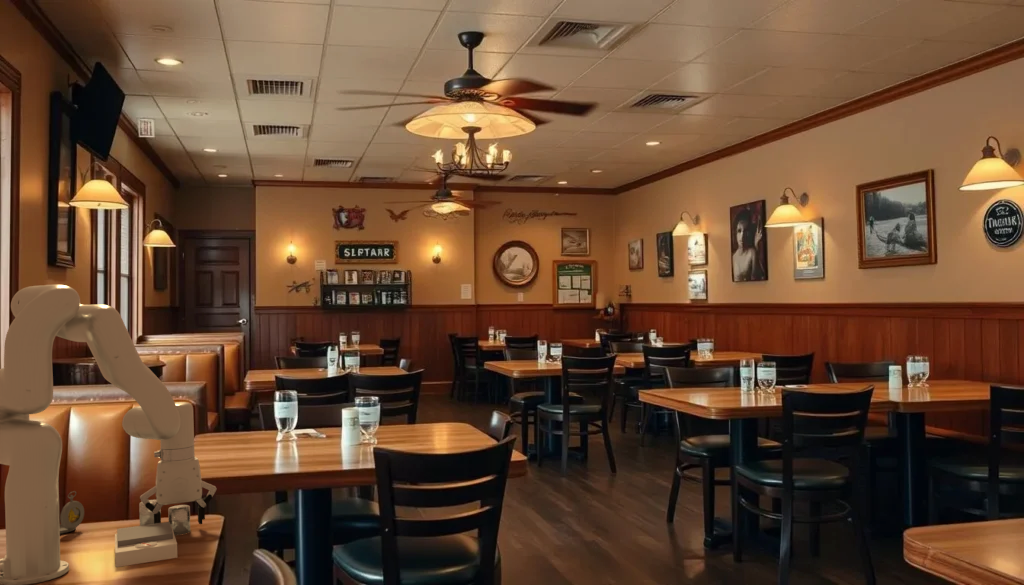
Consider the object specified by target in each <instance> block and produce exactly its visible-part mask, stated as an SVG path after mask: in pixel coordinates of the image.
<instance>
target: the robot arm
mask: <svg viewBox="0 0 1024 585" xmlns="http://www.w3.org/2000/svg"><path fill="white" fill-rule="evenodd" d="M10 311H11V313H12V315H13V317H14V319H13V321H11V323H10V325H9V327H8V328H7V331H6V335H5V339H4V345H3V346H4V350H3V351H4V352H3V353H4V354H3V355H4V356H3V367H2V368H0V465H4V466H8V467H9V468H8V473H7V476H6V480H5V484H4V510H5V511H4V512H5V548H6V550H5V552H6V553H5V555H4V557H2V558H1V557H0V584H1V585H32V584H38V583H43V582H47V581H50V580H54V579H56V578H59V577H61V576H63V575H66V573H67V572H68V571H69V570H70V563H69V562H67V561H65V560H61V534H60V525H61V523H60V494H59V493H60V492H59V491H60V490H59V474H60V465H61V459H62V453H63V439H62V436H61V434H60V432H59V431H58V430H57V429H56V427H54V426H53V425H52V424H50V423H47V422H44V421H40V420H32V419H30V415H36V414H39V413H42V412H45V411H46V410H47V409H48V408H49V407H50V405H51V403H52V401H53V398H54V376H53V375H54V374H53V372H54V371H53V346H54V341H55V338H56V337H59V338H62V339H65V340H68V341H72V342H75V343H76V342H77V343H86V344H87V346H88V348H89V350H90V352H91V354H92V356H93V358H94V360H95V361H96V364H97V366H98V368H99V370H100V373H101V375H102V377H103V378H104V379H105V380H106V381H107V382H109V383H110V384H111V385H113V386H114V387H116V388H118V389H119V390H121V391H123V392H125V393H126V394H128V395H129V396H130V397H131V398H133V399H134V400H135V402H137V404H138V406H134V407H132V408H131V409H129V410H128V411H127V412H125V414H124V416H123V418H122V423H121V426H122V428H123V431H125V433H126V434H128V435H129V436H131V437H133V438H136V439H137V438H138V439H144V440H154V441H155V440H156V441H159V442H160V449H159V450H157V451H154V452H153V456H154V458H159V459H160V460H159V461H158V462H157V466H156V474H155V475H156V476H155V485H154V486H153V487H151V488H150V489H148V490H147V491H145V492H143V494H141V495H140V496H139V500H140V501H141V502H143V504H144V505H145V506H146V508H148V509H149V510H150V511H152V512H153V513H154V524H156V523H162V512H161V513H160V511H159V510H160V509H162V507H163V506H167V505H174V504H183V503H190V502H191V503H192V502H197V503H198V506H197V522H198V524H199V525H203V520H204V521H205V519H206V509H205V508H206V507H207V505H208V503H209V502H210V501H211V500H212V499H213V496H214V495H215V493H216V491H217V487H216V486H215V485H213V484H211V483H210V482H209V483H208V482H207V481H204V480H202V473H201V466H200V461H199V458H198V457H196V455H195V427H194V426H195V425H194V424H195V423H194V422H195V421H194V407H193V404H191V403H190V402H186V401H179V402H178V401H177V402H175V400H174V398H173V396H172V394H171V392H170V390H169V389H168V388H167V386H166V385H165V383H164V382H162V380H160V378H159V377H157V375H156V374H155V373H154V372H153V370H151V369H150V367H148V366H147V365H146V364H145V363H144V362H143V360H142V359H141V356H140V354H139V353H138V350H137V348H136V346H135V343H134V341H133V340H132V338H131V335H130V333H129V331H128V329H127V326H126V325H125V322H124V320H123V317H122V316H121V314H120V312H119V311H118V310H117V309H116V308H115V307H113V306H111V305H107V304H81V297H80V295H79V292H77V290H76V289H75V288H73V287H71V286H70V285H69V286H68V285H66V284H65V285H64V284H44V285H33V286H32V285H31V286H26V287H23V288H21V289H19V290H18V291H16V293H15V294H14V295H13V297H12V298H11V302H10ZM203 489H205V490H208V492H207V494H206V495H205V496H204V497H203ZM153 495H155V498H156V499H155V500H157V502H156V504H155V505H153V504H152V503H151V502H149V500H150V499H149V498H150V497H152V496H153ZM202 497H203V498H202Z"/></svg>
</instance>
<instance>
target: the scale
mask: <svg viewBox="0 0 1024 585" xmlns="http://www.w3.org/2000/svg"><path fill="white" fill-rule="evenodd" d="M116 530H117V531H116V533H114V550H115V551H114V552H115V553H114V555H115V568H119V567H125V566H130V565H131V566H132V565H138V564H144V563H145V564H146V563H151V562H157V561H164V560H170V559H175V558H176V559H177V558H178V542H177V539H176V535H174V532H173V528H172V526H171V525H170V522H169V521H164V522H161V523H156V524H149V525H142V526H140V525H136V526H129V527H128V526H127V527H122V528H117V529H116Z"/></svg>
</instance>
